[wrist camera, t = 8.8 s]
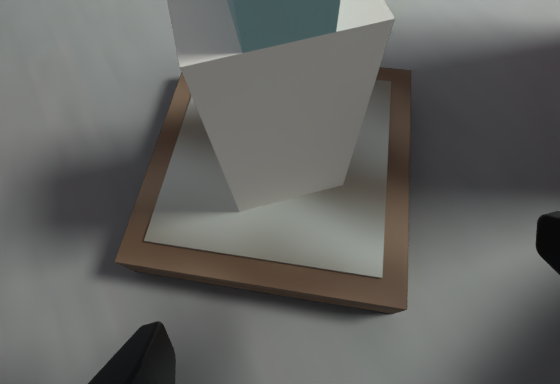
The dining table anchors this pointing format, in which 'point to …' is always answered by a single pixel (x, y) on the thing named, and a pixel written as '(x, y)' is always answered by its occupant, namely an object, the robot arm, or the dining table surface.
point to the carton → (281, 87)
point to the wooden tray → (281, 215)
